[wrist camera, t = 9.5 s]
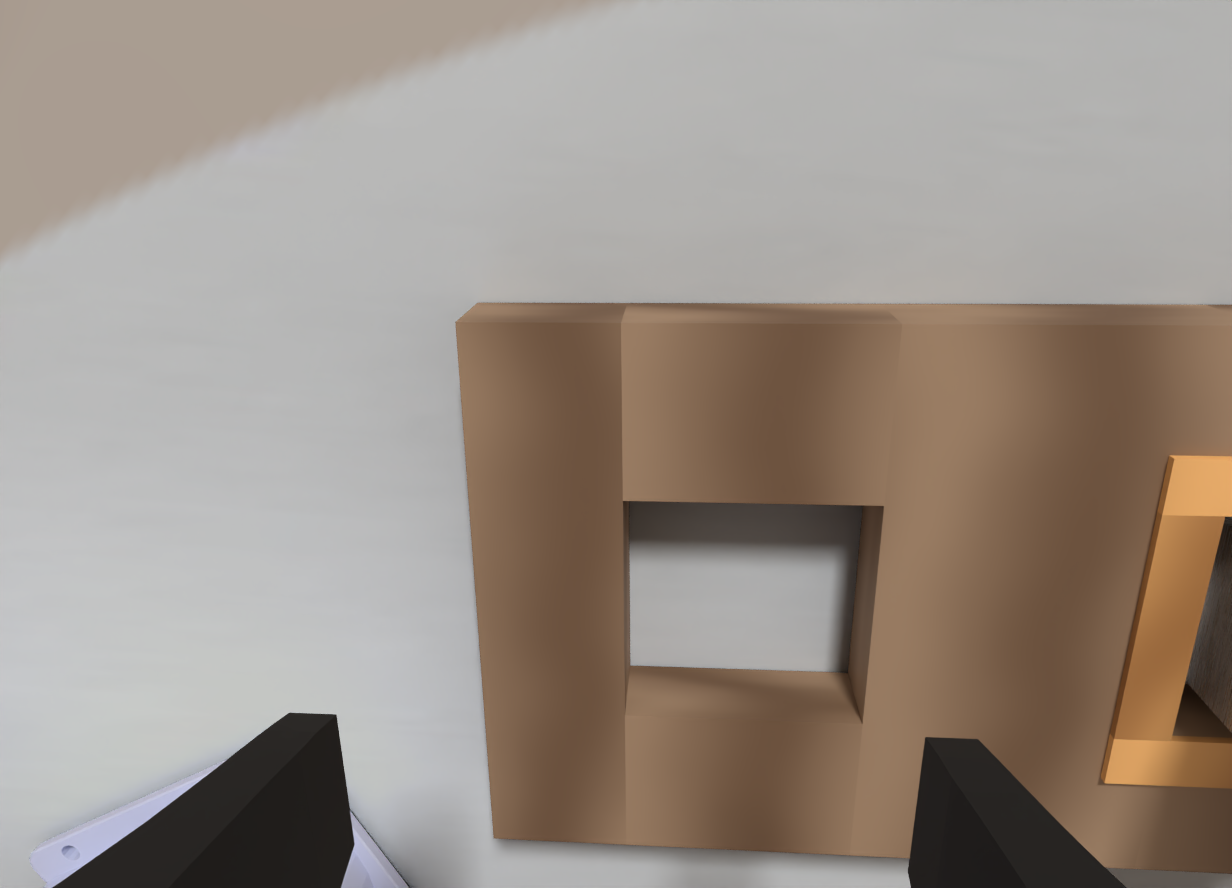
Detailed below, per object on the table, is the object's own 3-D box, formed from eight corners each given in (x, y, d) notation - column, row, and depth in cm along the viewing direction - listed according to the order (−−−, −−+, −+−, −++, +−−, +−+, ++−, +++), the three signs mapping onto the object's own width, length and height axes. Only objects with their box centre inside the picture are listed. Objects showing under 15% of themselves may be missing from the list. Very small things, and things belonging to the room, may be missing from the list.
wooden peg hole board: (508, 782, 24) (492, 844, 22) (477, 302, 20) (452, 324, 18) (1459, 823, 22) (1538, 895, 20) (1661, 305, 18) (1788, 330, 16)
